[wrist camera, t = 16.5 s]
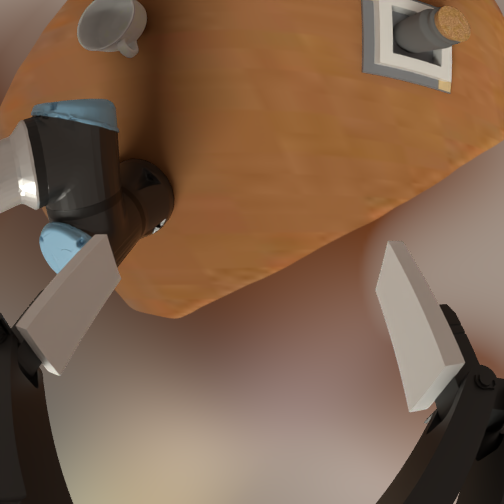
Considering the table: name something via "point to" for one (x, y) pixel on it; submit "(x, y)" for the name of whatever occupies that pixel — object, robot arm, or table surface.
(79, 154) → the robot arm
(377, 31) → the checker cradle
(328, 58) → the table surface
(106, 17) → the teacup
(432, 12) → the bottle
